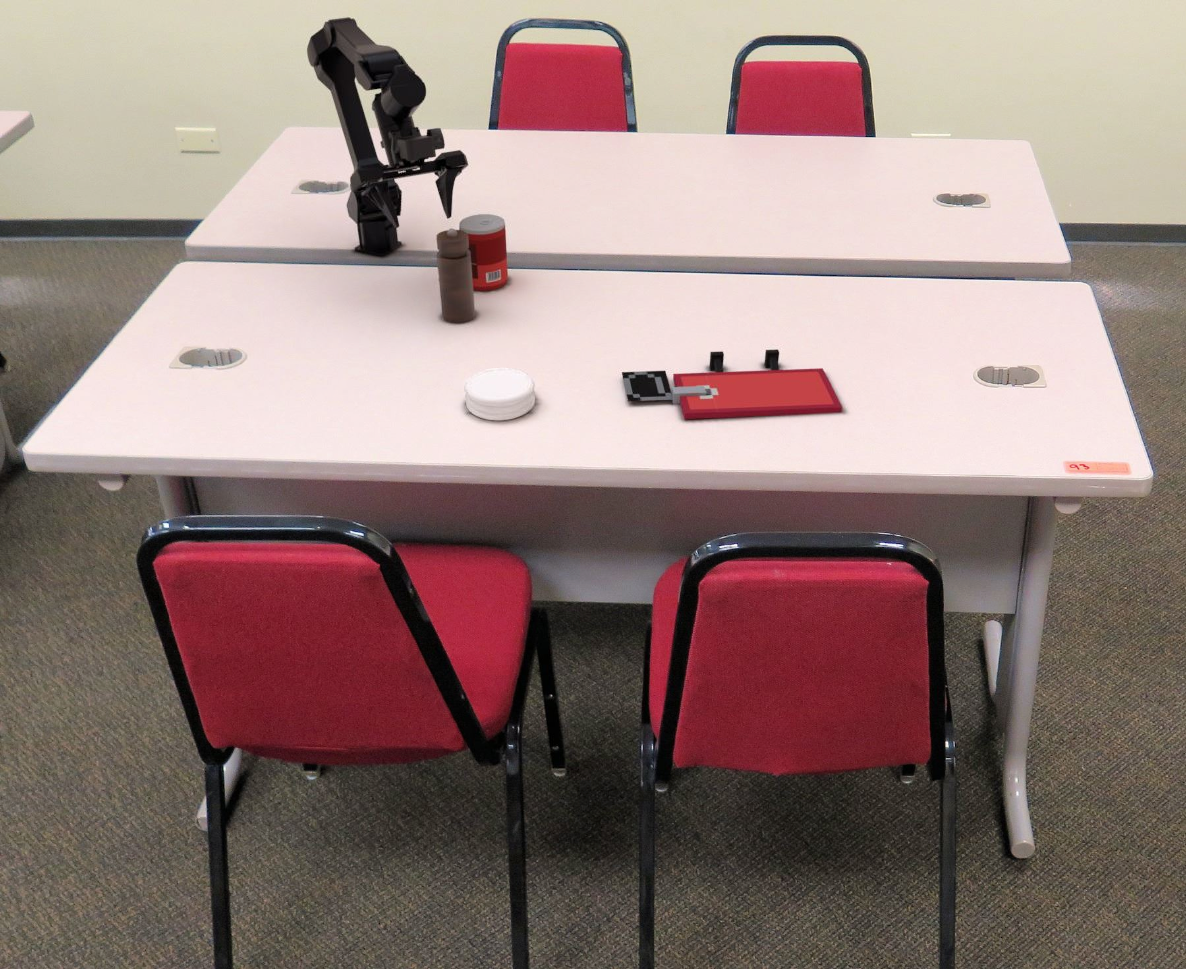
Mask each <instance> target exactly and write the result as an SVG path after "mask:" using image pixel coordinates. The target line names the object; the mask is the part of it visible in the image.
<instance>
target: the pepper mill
mask: <svg viewBox="0 0 1186 969" xmlns="http://www.w3.org/2000/svg"><path fill="white" fill-rule="evenodd" d="M435 236H436V248H437V252H436V261H437V262H436V263H437V273H438V284H439V286H438V287H439V296H440V297H439V298H440V307H441V317H442V318H441V319H442V320H443V321H445V322H447V323H451V324H464V323H468V322H470V321H472V320H473V319H474V318H475V317H476V309H475V295H474V294H475V293H474V290H473V279H472V265H471V252H470V251H469V250H468V248H469V240H468V234H467V233H466V232H465V231H462V230H459V229H455V228H449V229H446V230H443V231H440V232H438V233H437V234H436V235H435Z"/></svg>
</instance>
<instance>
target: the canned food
mask: <svg viewBox="0 0 1186 969" xmlns="http://www.w3.org/2000/svg"><path fill="white" fill-rule="evenodd" d="M458 225H459V227H458V228H459V229H458V230H462V231H465V232H466V233H467V234H468V240H469V248H468V250H469V251H470V252H471V265H472V279H473V291H479V292H488V291H489V292H490V291H494V290H495V291H496V290H497V289H500V288H502V287H504V286H505V285H506V284H507V282H508V278H509V275H508V274H509V273H508V272H509V271H508V256H507V255H508V251H507V232H506V222H505V219H504V218H503V217H501V216H499V215H497V214H490V213H483V214H482V213H480V214H479V213H478V214H473V215H470V216H469V215H468V216H467V217H465V218H462V219H461V220H460V221H459V223H458Z"/></svg>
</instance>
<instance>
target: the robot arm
mask: <svg viewBox="0 0 1186 969" xmlns="http://www.w3.org/2000/svg"><path fill="white" fill-rule="evenodd" d="M306 54H307V55H306V56H307V59H308V62H309V65H310V66H311V67H312V68H313V70H314V73H315V76H316V78H317V80H318V81H319V82H320V83H322V85H323V86H324V87H326V88H327V89H328V90H329V91H330V94H331V96H332V100H333V104H334V106H335V110H336V113H337V117H338V120H339V123H340V127H341V130H342V133H343V137H344V140H345V144H346V148H347V150H348V153H349V156H350V160H351V164H352V167H353V171H352V173H351V175H350V177H349V183H350V184H349V188H350V193H349V196H348V199H347V202H346V210H347V213H348V214H347V215H348V217H349V218H350V219H351V220H352V221H353V222H354V223H355V224H356V228H357V235H358V244H359V245H357V246H354V251H355V252H359V253H364V254H369V255H372V256H373V255H374V256H378V257H384V256H386V255H387V254H389V253H391V252H392V251H394V250H396V249H397V248H399V247H400V246H402V245H403V243H402V241H399V238H398V228H400V222H399V217H400V216H401V215H402V214H401V213H402V196H403V191H402V190H401V189H400V186H399V183H397V182H396V179H397V180H398V179H402V178H409V177H415V176H422V175H427V174H433V173H434V175H435V176H436V177H438V178H436V180H435V185H436V186H435V187H436V189H437V192H438V196H439V199H440V203H441V206H442V209H443V213H444V214H445V216H446V218H447V219H450V218H452V214H453V197H454V196H453V194H454V187H455V181H456V178H458V176H460V175H461V174H462V173H463V171H464V170H465V169H466V168H467V167H468V166H469V162H468V158H467V156H466V154H465V153H464V152H463V151H462V150H461V149H457V150H452V151H446V152H445V151H444V152H441V153H440V154H439V155H438V156H437V154H436V151H437V150H442V149H445V146H446V143H445V138H444V134H443V132H442V128H440V127H435V128H428V129H426V134H423V135H422V133H421V131H420V128H419V126H415V125H416V124H415V121H414V118H413V115H414V114H415V113H416V111H418V108H420V107H421V105H422V104H423V103H424V101H425V99H426V96H427V88H426V83H425V82H424V81H423V80H422V78H421V77H420V76H419V75H418V74H416V71H415V70H414V69H413V68H412V67H411V66H409V63H407V61H406V60H405V58H404V56H403V55H401V54H400V52H399V51H398V50H397V48H394V47H392V46H390V45H384V44H383V45H382V44H377V43H376V42H375V41H374V40H373V39H372V38H371V37H370V36H368V35H367V34H366V33H365V32H364V31H363V30H362V29H361V28H360V27H359V26H358V23H357V21H356V19H355V18H351V17H349V16H348V17H338V18H331V19H330V18H329V19H328V21H325V22H324V23H323V26H322V28H321V29H319V30H318V31H317V32H315V33H314V34H312V35H311V36H310V37H309V41H308V44H307V47H306ZM356 81H357V83H358V85H359V86H360V87H362V88H363V90H365V92H368V91H369V92H370V91H375V90H380V92H379V93H378V92H377V93H375V94H374V98H373V100H372V103H371V110H372V111H373V114H374V116H375V119H376V120H375V121H376V123H377V127H378V130H379V133H380V134H379V135H380V136H381V137H380V138H381V141H380V142H379V143H380V147H381V149H384V152H385V155H386V159H387V162H388V164H384V163H383V162H382V161H381V160H380V158H379V157H378V153H377V151H376V147H375V144H374V140H373V137H372V133H371V131H370V127H369V124H368V121H367V117H366V114H365V110H364V106H363V104H362V100H361V98H360V94H359V91H358V86H357V84H356ZM431 158H435V159H434V160H429V159H431ZM425 160H428V161H425Z"/></svg>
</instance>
